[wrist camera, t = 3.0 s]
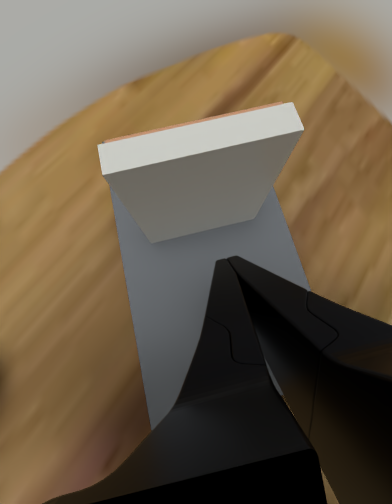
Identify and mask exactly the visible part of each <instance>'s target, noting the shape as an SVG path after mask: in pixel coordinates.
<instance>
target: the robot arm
mask: <svg viewBox="0 0 392 504" xmlns="http://www.w3.org/2000/svg"><path fill="white" fill-rule="evenodd" d="M264 358H265V359H266V361H267V363H268V365H269V367H270V369H271V371H272V373H273V375H274V377H275V379H276V381H277V383H278V385H279V387H280V389H281V391H282V393H283V394H284V396H285V398H286V400H287V402H288V404H289V406H290V408H291V410H292V412H293V414H294V416H295V417H294V416H293V414H292V413H291V411H290V410H289V408H288V406H287V405H286V403H285V402H284V400H283V399H282V397H281V395H280V394H279V392H278V391H277V389H276V387H275V386H274V384H273V381H272V379H271V376H270V374H269V371H268V368H267V365H266V362H265V359H264ZM295 418H296V419H295ZM296 420H297V421H296ZM320 467H321V468H320ZM321 469H322V470H323V472H324V474H325V476H326V478H327V480H328V482H329V484H330V486H331V488H332V490H333V492H334V494H335V496H336V498H337V500H338V502H339V504H392V325H389V324H387V323H384V322H382V321H379V320H377V319H374V318H371V317H369V316H366V315H364V314H361V313H359V312H356V311H354V310H351V309H349V308H346V307H344V306H342V305H339V304H337V303H334V302H332V301H330V300H328V299H326V298H324V297H321V296H319V295H317V294H315V293H313V292H311V291H308V290H307V289H305V288H303V287H301V286H299V285H297V284H295V283H293V282H291V281H288V280H286V279H284V278H282V277H280V276H278V275H276V274H274V273H272V272H270V271H268V270H266V269H264V268H262V267H260V266H258V265H256V264H254V263H252V262H250V261H248V260H246V259H244V258H242V257H240V256H237V255H235V256H231V257H228V258H227V259H226V258H223V259H219V260H216V262H215V266H214V271H213V276H212V281H211V286H210V291H209V296H208V301H207V306H206V311H205V318H204V321H203V326H202V330H201V334H200V338H199V341H198V344H197V347H196V350H195V353H194V356H193V358H192V361H191V364H190V366H189V369H188V372H187V374H186V377H185V380H184V382H183V385H182V388H181V390H180V393H179V395H178V397H177V399H176V401H175V403H174V405H173V407H172V408H171V410H170V411H169V412H168V414H167V415H166V416H165V417H164V418H163V419H162V420H161V421H160V422H159V424H158V425H157V426H156V427H155V428H154V429H153V430H152V431H151V432H150V434H149V435H148V436H147V437H146V438H145V439H144V440H143V441H142V442H141V444H140V445H139V446H138V447H137V448H136V449H135V450H134V451H133V452H132V453H131V455H130V456H129V457H128V458H127V459H126V460H125V461H124V462H123V463H122V464H121V465H120V466H119V467H118V468H117V469H116V470H115V471H114V472H113V473H111V474H110V475H109V476H107V477H106V478H105V479H103V480H101V481H100V482H98V483H96V484H94V485H93V486H90V487H88V488H85V489H83V490H80V491H76V492H73V493H69V494H65V495H62V496H59V497H56V498H53V499H50V500H48V501H47V502H45V503H43V504H327V500H326V495H325V490H324V484H323V479H322V474H321Z"/></svg>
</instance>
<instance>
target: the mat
mask: <svg viewBox="0 0 392 504" xmlns="http://www.w3.org/2000/svg"><path fill="white" fill-rule="evenodd" d="M104 143H105V142H102V144H104ZM110 191H111V197H112V203H113V209H114V214H115V220H116V226H117V232H118V238H119V244H120V249H121V255H122V261H123V267H124V273H125V279H126V285H127V290H128V296H129V302H130V308H131V314H132V320H133V325H134V331H135V337H136V343H137V349H138V355H139V361H140V366H141V372H142V378H143V384H144V390H145V396H146V401H147V407H148V413H149V419H150V425H151V431H152V430H153V429H154V428H155V427H156V426H157V425H158V424H159V422H160V421H161V420H162V419H163V418H164V417H165V416H166V415H167V414H168V412H169V411H170V410H171V408H172V407H173V405H174V403H175V401H176V399H177V397H178V395H179V393H180V390H181V388H182V385H183V382H184V380H185V377H186V374H187V372H188V369H189V366H190V364H191V361H192V358H193V356H194V353H195V350H196V347H197V344H198V341H199V338H200V334H201V330H202V326H203V321H204V318H205V311H206V306H207V301H208V296H209V291H210V286H211V281H212V276H213V271H214V266H215V262H216V260H219V259H223V258H226V259H227V258H228V257H231V256H235V255H237V256H240V257H242V258H244V259H246V260H248V261H250V262H252V263H254V264H256V265H258V266H260V267H262V268H264V269H266V270H268V271H270V272H272V273H274V274H276V275H278V276H280V277H282V278H284V279H286V280H288V281H291V282H293V283H295V284H297V285H299V286H301V287H303V288H305V289H307V290H308V291H311V289H310V287H309V284H308V281H307V278H306V276H305V273H304V270H303V267H302V265H301V262H300V259H299V256H298V254H297V251H296V248H295V245H294V243H293V240H292V237H291V234H290V232H289V229H288V226H287V223H286V221H285V218H284V215H283V212H282V210H281V207H280V204H279V201H278V199H277V196H276V193H275V190H274V188H273V186H272V188H271V190H270V192H269V193H268V195H267V197H266V199H265V200H264V202H263V204H262V206H261V208H260V209H259V211H258V213H257V215H256V217H255V218H254V219H252V220H248V221H243V222H239V223H235V224H231V225H227V226H222V227H218V228H214V229H210V230H206V231H202V232H197V233H193V234H189V235H185V236H181V237H177V238H172V239H168V240H164V241H160V242H156V243H151V242H150V241H149V240H148V238H147V237H146V235H145V234H144V233H143V231H142V230H141V228H140V227H139V226H138V224H137V223H136V221H135V220H134V219H133V217H132V216H131V214H130V213H129V212H128V210H127V209H126V207H125V206H124V205H123V203H122V202H121V200H120V199H119V198H118V196H117V195H116V193H115V192H114V191H113V189H112V188H111V186H110ZM264 359H265V358H264ZM265 362H266V365H267V368H268V371H269V374H270V376H271V379H272V381H273V384H274V386H275V387H276V389H277V391H278V392H279V394H280V395H284V394H283V393H282V391H281V389H280V387H279V385H278V383H277V381H276V379H275V377H274V375H273V373H272V371H271V369H270V367H269V365H268V363H267V361H266V359H265Z"/></svg>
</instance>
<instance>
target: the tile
mask: <svg viewBox="0 0 392 504" xmlns="http://www.w3.org/2000/svg"><path fill="white" fill-rule="evenodd" d="M303 131H304V127H303V125H302V123H301V120H300V118H299V116H298V114H297V111H296V109H295V107H294V104H293V102H290V103H286V104H283V101H282V102H277V103H273V104H268V105H264V106H259V107H255V108H250V109H246V110H241V111H236V112H232V113H227V114H223V115H218V116H214V117H209V118H205V119H200V120H196V121H191V122H186V123H182V124H177V125H173V126H168V127H164V128H159V129H155V130H150V131H146V132H141V133H136V134H132V135H127V136H123V137H118V138H114V139H109V140H105V141H104V142H105V143H104V144H100V145H98V151H99V157H100V163H101V169H102V175H103V176H104V178H105V179H106V181H107V182H108V183H109V185H110V186H111V188H112V189H113V191H114V192H115V193H116V195H117V196H118V198H119V199H120V200H121V202H122V203H123V205H124V206H125V207H126V209H127V210H128V212H129V213H130V214H131V216H132V217H133V219H134V220H135V221H136V223H137V224H138V226H139V227H140V228H141V230H142V231H143V233H144V234H145V235H146V237H147V238H148V240H149V241H150V242H151V243H156V242H160V241H164V240H168V239H172V238H177V237H181V236H185V235H189V234H193V233H197V232H202V231H206V230H210V229H214V228H218V227H222V226H227V225H231V224H235V223H239V222H243V221H248V220H252V219H254V218H255V217H256V215H257V213H258V211H259V209H260V208H261V206H262V204H263V202H264V200H265V199H266V197H267V195H268V193H269V192H270V190H271V188H272V186H273V184H274V183H275V181H276V179H277V177H278V176H279V174H280V172H281V170H282V168H283V167H284V165H285V163H286V161H287V160H288V158H289V156H290V154H291V152H292V151H293V149H294V147H295V145H296V144H297V142H298V140H299V138H300V136H301V135H302V133H303Z"/></svg>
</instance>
